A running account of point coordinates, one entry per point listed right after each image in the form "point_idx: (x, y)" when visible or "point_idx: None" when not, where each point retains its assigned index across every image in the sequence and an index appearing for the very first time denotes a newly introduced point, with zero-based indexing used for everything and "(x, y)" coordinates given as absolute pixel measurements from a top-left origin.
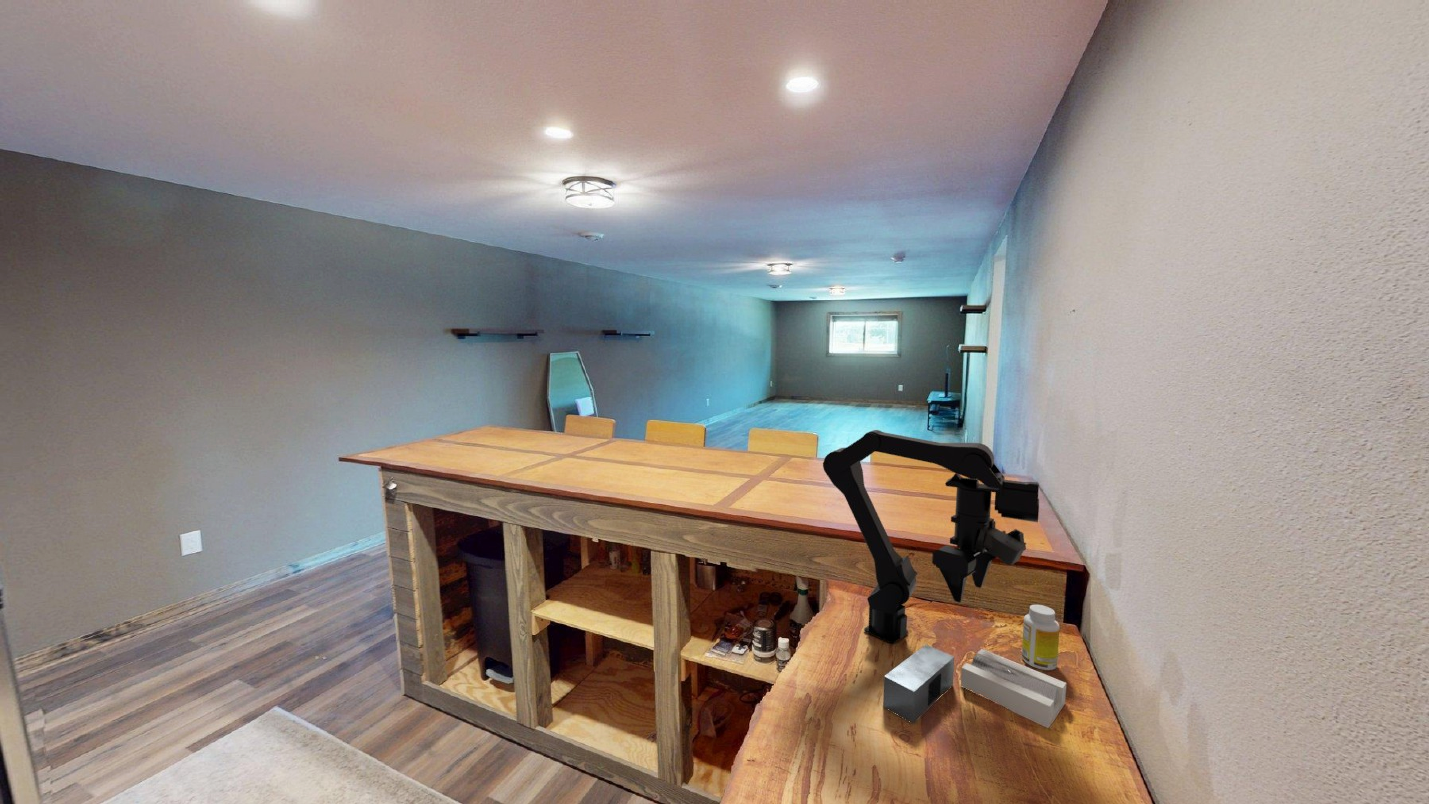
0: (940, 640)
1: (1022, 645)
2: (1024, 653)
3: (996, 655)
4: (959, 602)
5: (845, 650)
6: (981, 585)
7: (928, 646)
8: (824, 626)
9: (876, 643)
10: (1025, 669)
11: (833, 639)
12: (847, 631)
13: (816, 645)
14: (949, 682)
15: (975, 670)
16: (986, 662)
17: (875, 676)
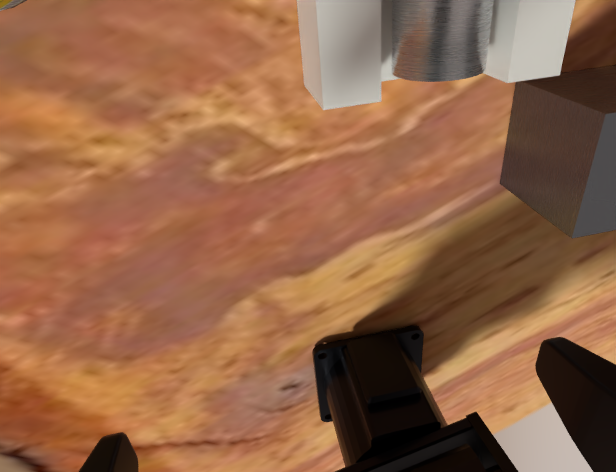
0: (254, 276)
1: (6, 4)
2: None
3: (325, 25)
4: (555, 338)
5: (537, 350)
6: (114, 451)
7: (579, 223)
8: None
9: (445, 343)
10: None
11: (507, 392)
12: (445, 406)
13: None
14: (563, 81)
15: (547, 18)
16: (480, 7)
17: (610, 241)
